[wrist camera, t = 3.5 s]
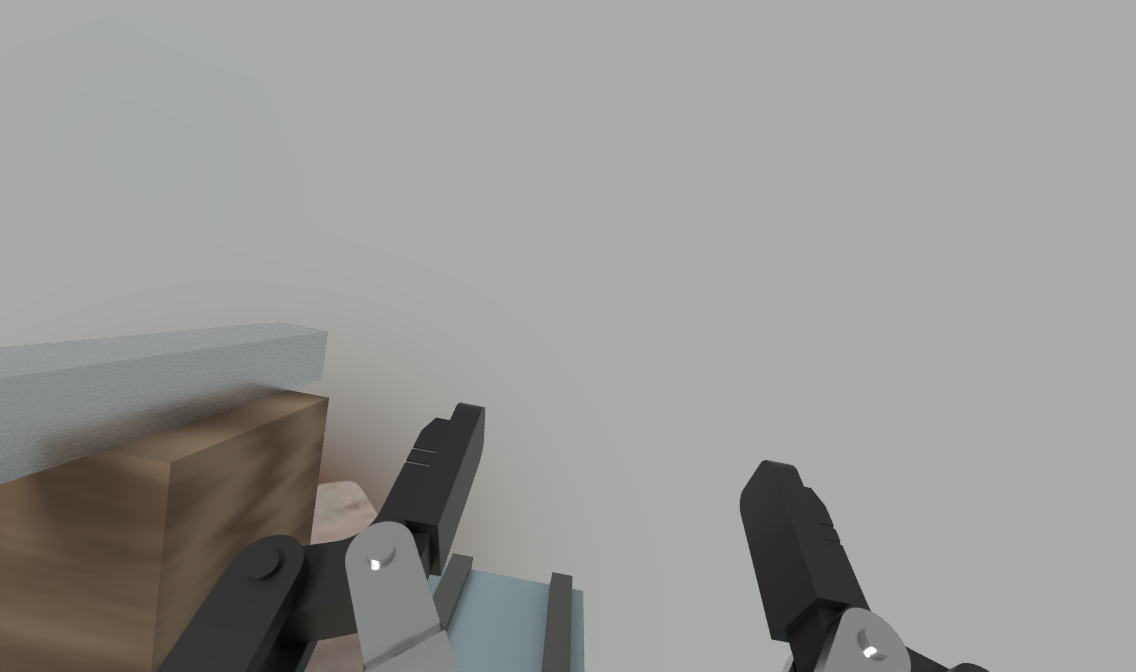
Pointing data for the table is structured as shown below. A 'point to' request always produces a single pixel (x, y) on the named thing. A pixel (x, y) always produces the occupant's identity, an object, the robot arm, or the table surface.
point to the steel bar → (139, 387)
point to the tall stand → (148, 533)
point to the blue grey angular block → (509, 620)
